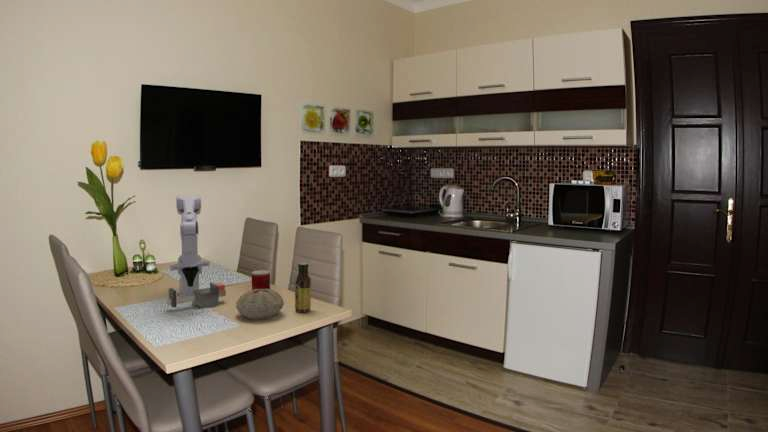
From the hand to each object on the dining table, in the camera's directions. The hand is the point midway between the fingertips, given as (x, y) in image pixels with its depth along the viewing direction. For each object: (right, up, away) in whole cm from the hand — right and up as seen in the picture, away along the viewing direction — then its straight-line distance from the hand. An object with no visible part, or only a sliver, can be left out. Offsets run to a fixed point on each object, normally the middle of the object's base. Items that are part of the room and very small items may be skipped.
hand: (190, 286), depth 189 cm
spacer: (+7, -4, +13) cm, 15 cm away
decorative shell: (+28, -12, -1) cm, 30 cm away
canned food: (+22, -8, +24) cm, 33 cm away
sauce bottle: (+43, -11, +6) cm, 45 cm away
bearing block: (+2, -9, +10) cm, 14 cm away
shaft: (0, -7, +7) cm, 10 cm away
